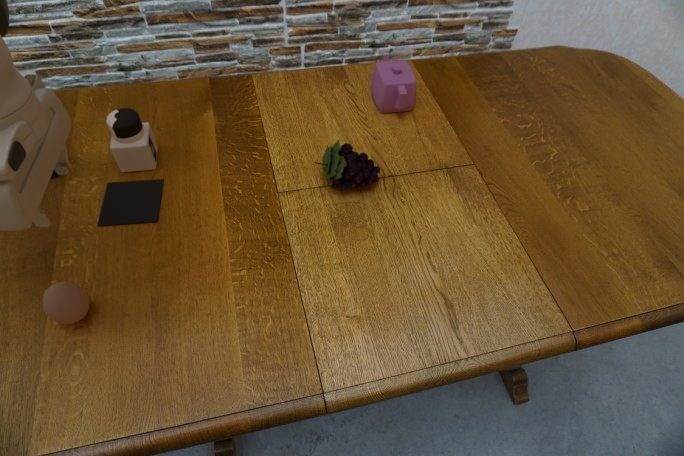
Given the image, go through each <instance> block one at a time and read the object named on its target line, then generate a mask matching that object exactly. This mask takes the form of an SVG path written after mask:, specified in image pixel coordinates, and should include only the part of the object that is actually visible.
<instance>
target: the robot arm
mask: <svg viewBox="0 0 684 456" xmlns="http://www.w3.org/2000/svg"><path fill="white" fill-rule="evenodd" d="M9 9H10V8H9V5H8V1H7V0H0V231H5V232H9V231H11V232H13V231H23V230H28V229H30V228H31V227H32V225H33V224H34V225H35V226H36V227H39V228H49V227H51V224H52V221H53V218H54V215H52V213H51V212H50V210H49V209H43V210H41V207H40V206H41V203H42V200H43V197H44V195H45V193H46V190H47V188H48V185H49V183H50V180H51V179H50V178H51V176H52V173H53V171H54V170H55V171H56V173H57V174H58V175H61V176H69V175H70V174H71V171H72V169H73V165H72V164H71V161H70V160H69V156H68V154H69V153H68V148H67V144H66V141H67V139H68V137H69V134H70V132H71V129H72V120H71V116H70V113H68V111H67V108H66V107H65V106H64V105H63V103H62V101H61V100H60V99H59V97H58V96H57V95H56V93H54V91H53V90H51V89H50V88H48V87H46V85H45V83H44V81H43V80H42V78H41V77H40V76H39V75H36V74H34V73H30V74H29V73H27V74H25V75H23V74H22V73H20V72H19V71H18V69H17V67H16V66H15V63H14V58H13V56H12V52H11V50H10V48H9V47H8V45H7V43H6V41H5V40H4V37H6V36H7V34H8V32H9V28H10V10H9Z"/></svg>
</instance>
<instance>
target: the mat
mask: <svg viewBox="0 0 684 456" xmlns="http://www.w3.org/2000/svg"><path fill="white" fill-rule="evenodd" d="M164 181H165V179H164V178H161V179H160V178H158V179H143V180H127V181H126V180H125V181H112V182H107V183H106V188H105V192H104V195H103V200H102V204H101V208H100V212H99V217H98V221H97V225H96V226H97V228H98V227H110V226H111V227H113V226H125V225H140V224H154V223H155V224H156V223H159V217H160V212H161V211H160V210H161V203H162V196H163V188H164V183H165V182H164Z"/></svg>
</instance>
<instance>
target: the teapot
mask: <svg viewBox="0 0 684 456" xmlns="http://www.w3.org/2000/svg"><path fill="white" fill-rule="evenodd" d="M370 90H371V94H372V99H373V101H374V104H375V106H376V108H377V110H378V112H379V113H381V114H392V113H401V112H410V111H412V110H413V109H414V106H415V104H416V99H417V98H416V96H417V80H416V77H415V74H414V72H413V70H412V67H411V66H410V64H409V63H408V62H407V60H405V59H403V60H391V59H390V56H389V54H383V57H382V61H377V62H376V64H375V66H374V70H373V73H372V77H371V84H370Z"/></svg>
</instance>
